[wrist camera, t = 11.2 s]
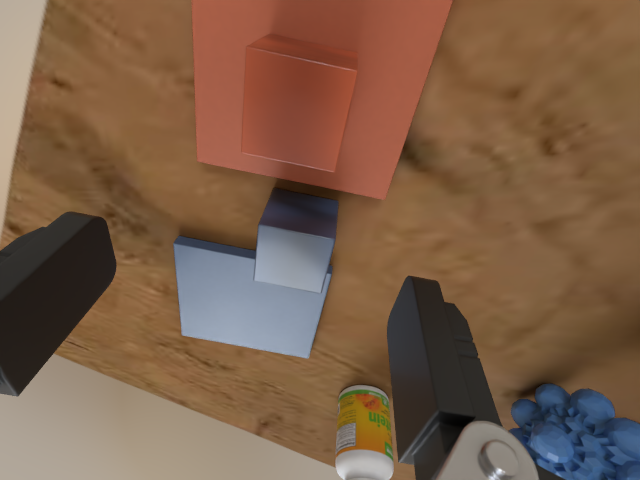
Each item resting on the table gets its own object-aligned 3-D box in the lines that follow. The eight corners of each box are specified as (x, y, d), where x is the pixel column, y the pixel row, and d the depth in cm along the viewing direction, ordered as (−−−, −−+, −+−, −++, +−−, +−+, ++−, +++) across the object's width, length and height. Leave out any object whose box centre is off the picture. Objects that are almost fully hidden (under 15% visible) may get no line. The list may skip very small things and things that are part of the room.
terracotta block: (261, 122, 20) (240, 154, 16) (268, 32, 17) (245, 45, 13) (339, 139, 20) (335, 173, 16) (358, 52, 17) (358, 70, 14)
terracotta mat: (202, 155, 22) (196, 161, 21) (197, -70, 16) (188, -73, 15) (384, 192, 23) (384, 200, 22) (452, -11, 16) (456, -11, 15)
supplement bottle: (399, 399, 37) (410, 509, 29) (362, 415, 40) (363, 520, 32) (364, 377, 35) (366, 488, 27) (328, 395, 38) (320, 501, 30)
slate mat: (185, 326, 33) (181, 335, 32) (178, 235, 26) (172, 243, 26) (309, 349, 33) (308, 358, 33) (332, 265, 27) (331, 274, 26)
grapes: (568, 337, 29) (671, 509, 20) (618, 367, 31) (735, 539, 21) (464, 395, 36) (504, 546, 26) (511, 417, 37) (565, 567, 28)
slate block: (267, 239, 26) (253, 281, 22) (273, 187, 23) (257, 224, 20) (326, 251, 26) (321, 294, 22) (339, 200, 23) (335, 239, 20)
